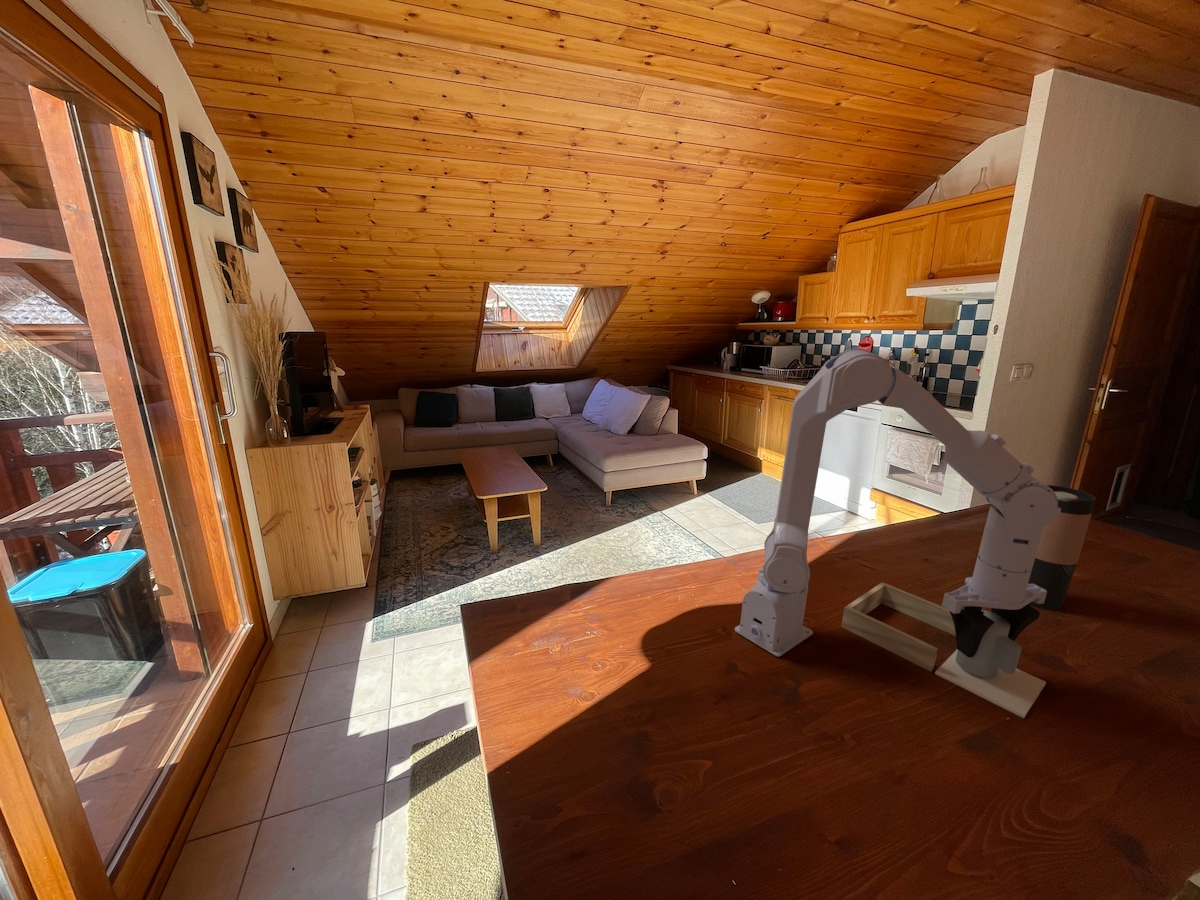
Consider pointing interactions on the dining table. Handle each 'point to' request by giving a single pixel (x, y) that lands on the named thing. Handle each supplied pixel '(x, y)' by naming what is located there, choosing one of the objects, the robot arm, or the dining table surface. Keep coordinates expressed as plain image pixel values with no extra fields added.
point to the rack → (890, 636)
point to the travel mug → (1061, 545)
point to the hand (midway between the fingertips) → (981, 650)
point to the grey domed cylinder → (992, 651)
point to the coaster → (996, 686)
